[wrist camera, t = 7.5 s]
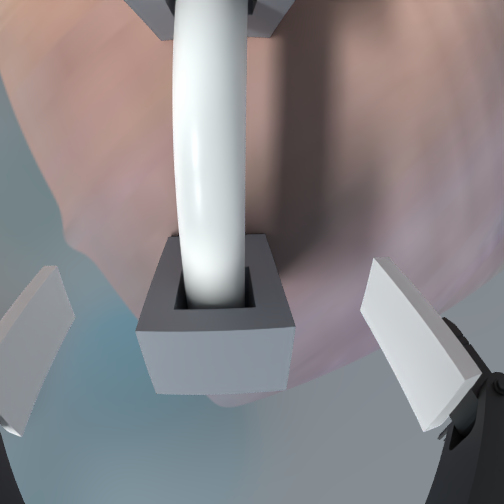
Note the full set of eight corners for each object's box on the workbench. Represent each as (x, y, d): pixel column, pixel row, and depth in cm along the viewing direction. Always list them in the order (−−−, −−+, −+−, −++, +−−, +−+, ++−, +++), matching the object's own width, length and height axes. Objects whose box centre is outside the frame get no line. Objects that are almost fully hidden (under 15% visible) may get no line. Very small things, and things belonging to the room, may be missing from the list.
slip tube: (180, -26, 12) (171, -56, 8) (248, -28, 12) (256, -59, 8) (190, 308, 23) (185, 346, 19) (245, 306, 23) (250, 345, 19)
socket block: (168, 236, 27) (135, 331, 15) (265, 234, 28) (295, 326, 16) (175, 290, 29) (156, 393, 18) (262, 287, 30) (286, 389, 19)
